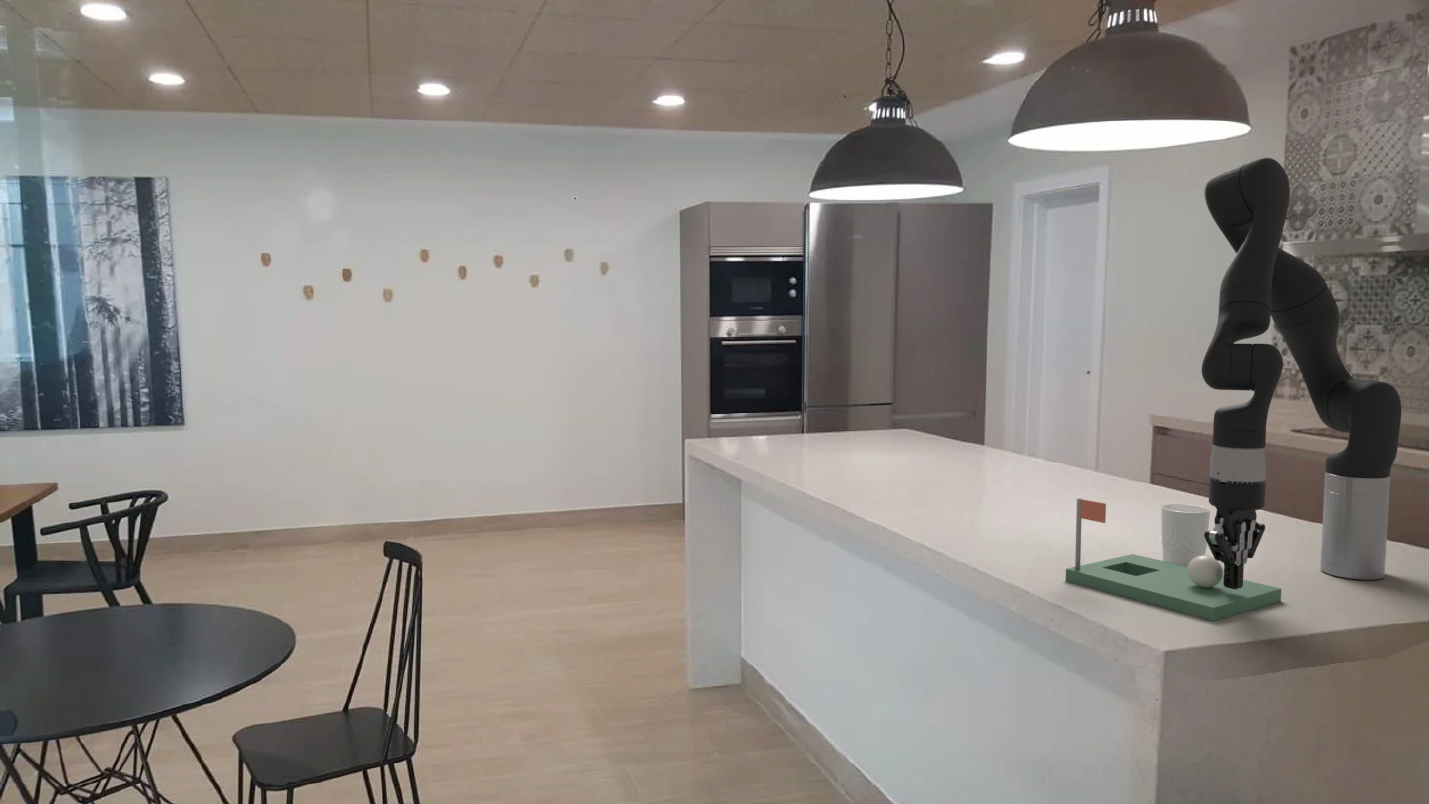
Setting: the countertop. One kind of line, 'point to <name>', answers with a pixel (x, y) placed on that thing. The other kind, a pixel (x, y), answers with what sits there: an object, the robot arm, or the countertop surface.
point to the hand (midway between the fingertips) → (1232, 587)
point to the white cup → (1183, 532)
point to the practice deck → (1162, 580)
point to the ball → (1205, 571)
